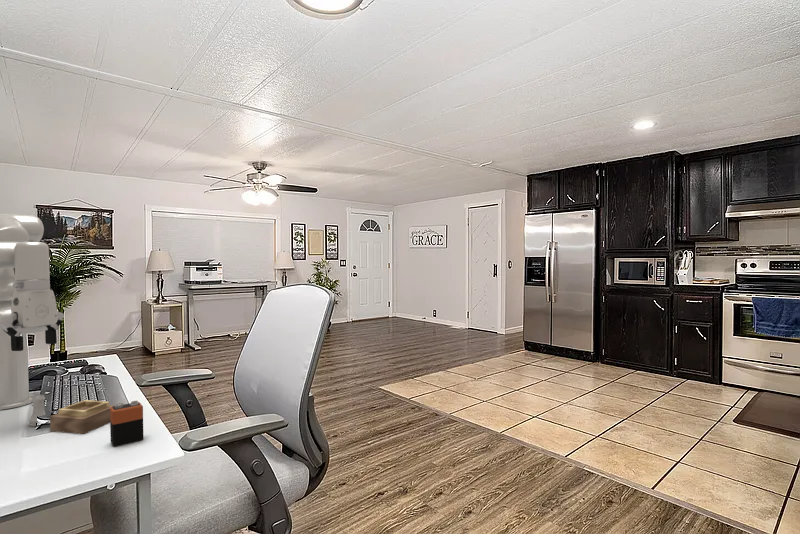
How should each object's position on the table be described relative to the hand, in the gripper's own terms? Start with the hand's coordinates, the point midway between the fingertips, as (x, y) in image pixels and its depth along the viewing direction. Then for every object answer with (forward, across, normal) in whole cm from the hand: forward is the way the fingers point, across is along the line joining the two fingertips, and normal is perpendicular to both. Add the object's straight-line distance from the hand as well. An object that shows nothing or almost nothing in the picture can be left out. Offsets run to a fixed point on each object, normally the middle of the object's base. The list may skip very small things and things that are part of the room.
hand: (34, 347), depth 128 cm
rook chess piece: (+22, +1, +1) cm, 22 cm away
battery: (+23, -5, -33) cm, 40 cm away
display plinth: (+22, +3, -13) cm, 26 cm away
